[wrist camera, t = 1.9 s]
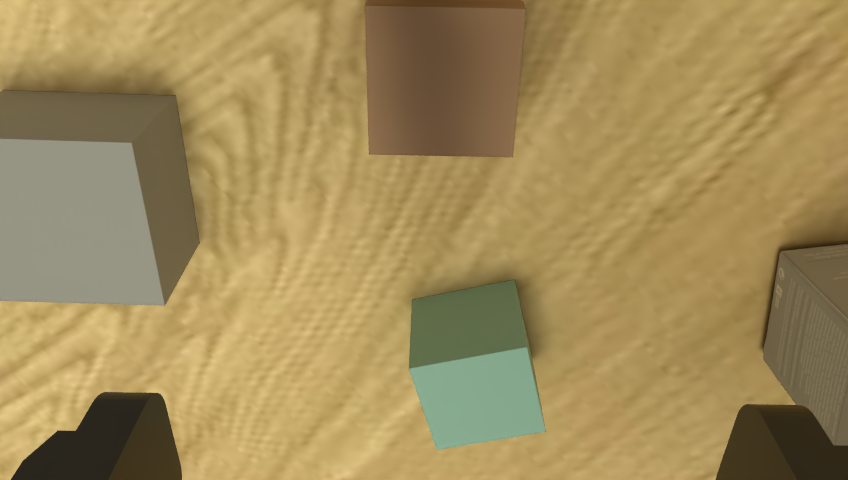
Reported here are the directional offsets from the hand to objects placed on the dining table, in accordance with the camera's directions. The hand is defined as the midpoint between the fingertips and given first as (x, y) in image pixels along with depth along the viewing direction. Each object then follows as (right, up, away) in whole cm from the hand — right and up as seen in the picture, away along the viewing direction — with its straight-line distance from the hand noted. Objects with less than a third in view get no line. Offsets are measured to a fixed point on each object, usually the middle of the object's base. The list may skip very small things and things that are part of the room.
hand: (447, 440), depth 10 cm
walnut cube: (0, +11, +17) cm, 20 cm away
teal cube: (+2, -2, +24) cm, 25 cm away
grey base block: (-14, +6, +20) cm, 25 cm away
